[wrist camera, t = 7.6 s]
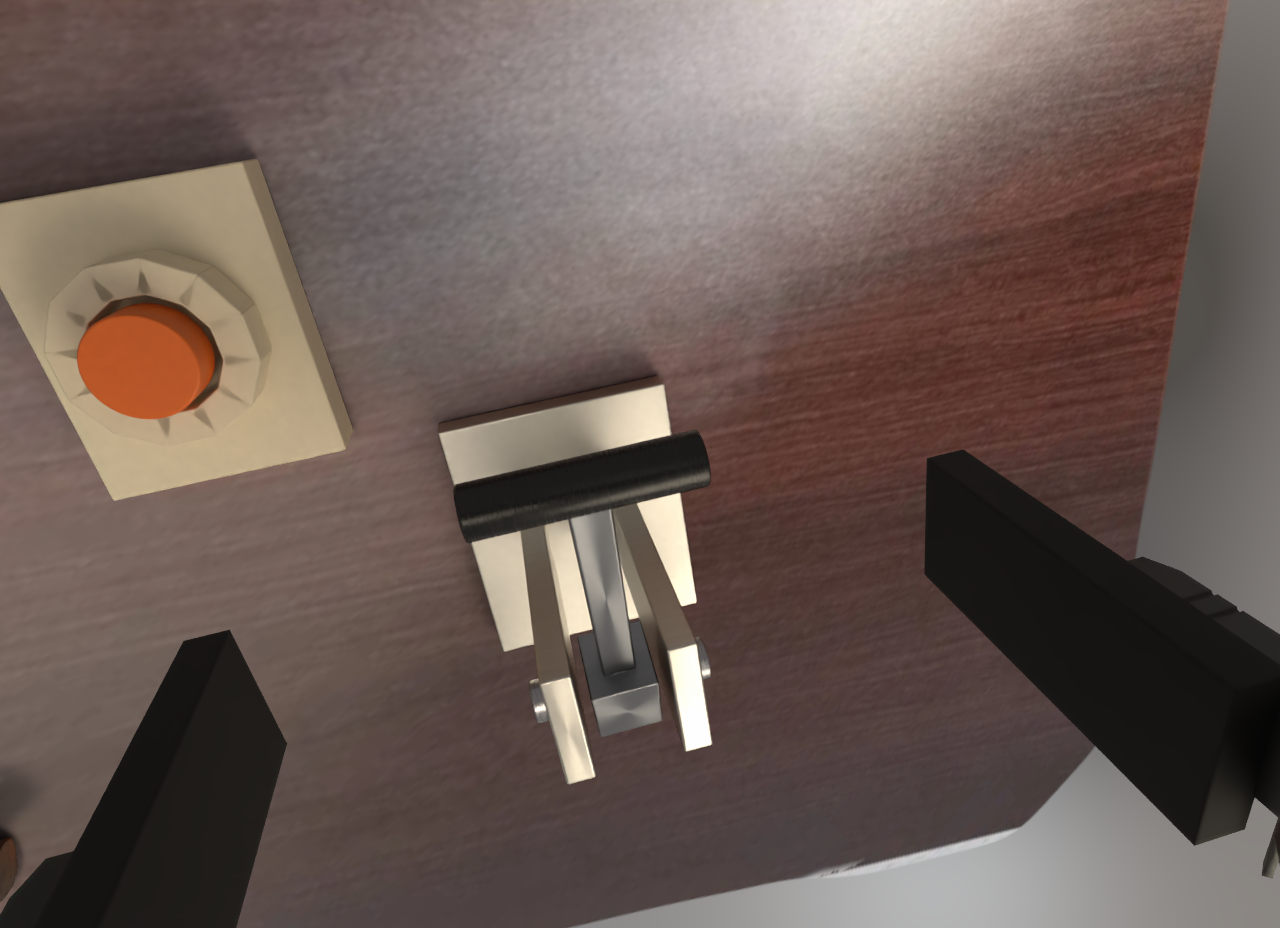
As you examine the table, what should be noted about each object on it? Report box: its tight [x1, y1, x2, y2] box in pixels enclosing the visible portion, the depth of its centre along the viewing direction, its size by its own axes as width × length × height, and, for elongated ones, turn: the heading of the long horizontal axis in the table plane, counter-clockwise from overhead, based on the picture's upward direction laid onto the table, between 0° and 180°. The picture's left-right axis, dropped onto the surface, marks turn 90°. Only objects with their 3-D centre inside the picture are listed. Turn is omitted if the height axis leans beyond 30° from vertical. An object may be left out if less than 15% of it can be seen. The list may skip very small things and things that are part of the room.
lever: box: [453, 430, 711, 737], centre depth 22 cm, size 12×6×2 cm, turn 9°
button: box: [77, 303, 215, 419], centre depth 26 cm, size 4×4×2 cm
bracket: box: [438, 376, 712, 784], centre depth 30 cm, size 12×10×14 cm
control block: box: [0, 159, 353, 501], centre depth 28 cm, size 11×9×4 cm
